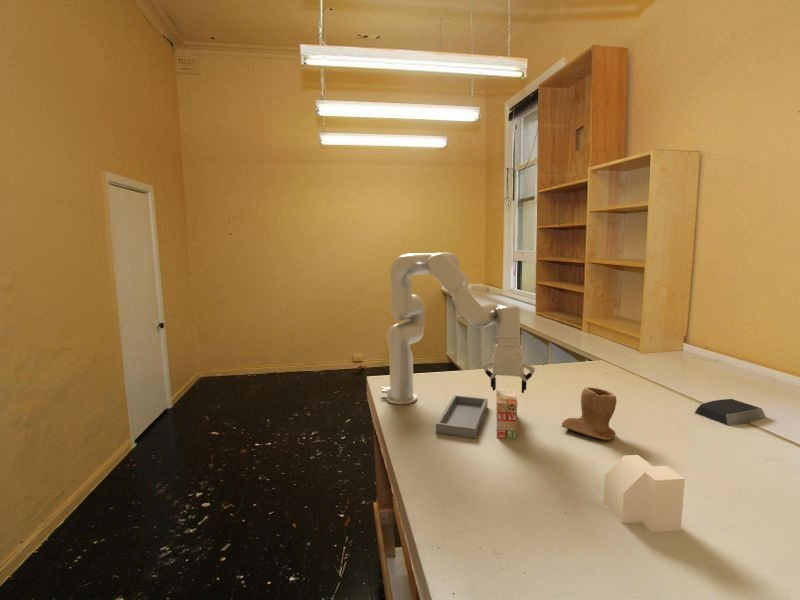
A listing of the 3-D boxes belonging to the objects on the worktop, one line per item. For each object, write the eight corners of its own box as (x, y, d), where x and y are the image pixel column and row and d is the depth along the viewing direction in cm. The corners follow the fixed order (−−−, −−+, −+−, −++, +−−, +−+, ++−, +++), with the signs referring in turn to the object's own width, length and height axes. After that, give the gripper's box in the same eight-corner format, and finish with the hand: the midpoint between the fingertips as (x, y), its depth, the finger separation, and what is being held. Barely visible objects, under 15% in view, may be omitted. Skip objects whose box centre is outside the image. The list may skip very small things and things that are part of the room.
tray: (435, 433, 138) (435, 423, 138) (454, 403, 164) (454, 395, 164) (474, 439, 134) (474, 428, 133) (487, 407, 160) (487, 398, 159)
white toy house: (680, 530, 90) (684, 478, 89) (631, 533, 89) (634, 481, 88) (647, 500, 101) (651, 454, 99) (603, 503, 100) (605, 456, 98)
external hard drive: (768, 419, 147) (769, 408, 146) (730, 428, 140) (731, 416, 140) (728, 406, 159) (729, 396, 158) (692, 413, 153) (693, 402, 152)
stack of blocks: (496, 412, 155) (496, 380, 154) (513, 413, 154) (514, 381, 152) (496, 438, 135) (497, 401, 133) (516, 439, 133) (517, 403, 132)
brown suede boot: (621, 433, 136) (623, 389, 134) (608, 446, 128) (610, 399, 126) (575, 420, 147) (576, 379, 145) (560, 431, 139) (562, 388, 137)
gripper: (480, 343, 140) (481, 392, 142) (534, 345, 134) (534, 396, 136) (484, 338, 147) (484, 385, 149) (535, 340, 141) (535, 389, 143)
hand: (508, 390), depth 142 cm, fingers open, 9 cm apart
